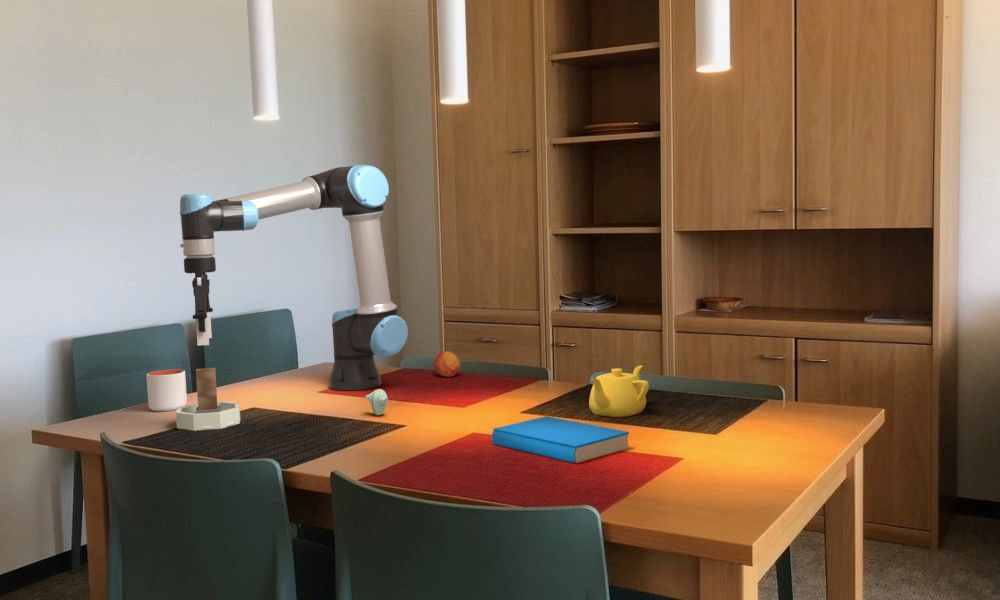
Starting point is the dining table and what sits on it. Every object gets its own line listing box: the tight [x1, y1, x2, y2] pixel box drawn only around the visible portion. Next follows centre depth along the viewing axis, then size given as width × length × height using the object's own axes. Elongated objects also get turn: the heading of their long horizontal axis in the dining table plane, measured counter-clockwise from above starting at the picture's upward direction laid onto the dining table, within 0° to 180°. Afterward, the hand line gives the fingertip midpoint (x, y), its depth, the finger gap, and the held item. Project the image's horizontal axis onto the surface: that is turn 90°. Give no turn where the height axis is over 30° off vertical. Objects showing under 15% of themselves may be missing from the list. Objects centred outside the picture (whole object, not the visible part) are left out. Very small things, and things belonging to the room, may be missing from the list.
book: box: [491, 415, 630, 464], centre depth 212 cm, size 17×4×25 cm
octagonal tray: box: [175, 400, 241, 432], centre depth 248 cm, size 15×15×4 cm
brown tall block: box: [195, 367, 218, 411], centre depth 247 cm, size 4×2×13 cm, turn 103°
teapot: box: [588, 365, 650, 418], centre depth 244 cm, size 22×16×11 cm
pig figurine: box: [365, 388, 389, 416], centre depth 250 cm, size 8×4×7 cm, turn 43°
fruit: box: [433, 350, 461, 378], centre depth 305 cm, size 8×8×8 cm
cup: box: [146, 368, 188, 412], centre depth 269 cm, size 10×10×10 cm
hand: (204, 341), depth 246 cm, fingers open, 13 cm apart
